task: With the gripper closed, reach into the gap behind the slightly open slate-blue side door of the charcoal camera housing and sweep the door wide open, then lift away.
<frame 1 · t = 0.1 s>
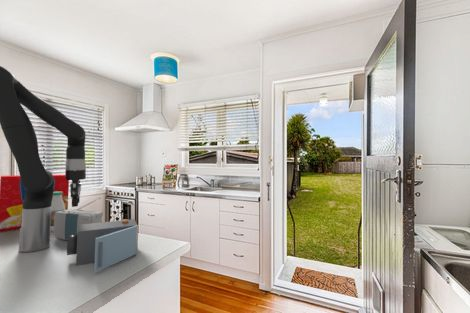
hand: (75, 204, 102), 17 cm above the worktop, tool pointing down, fingers open, 8 cm apart
red cardboard box: (34, 226, 125), on the worktop
stereo radio cassette player: (78, 240, 106), on the worktop
milk bottle: (55, 229, 119), on the worktop
side door: (119, 246, 82), point 7 cm above the worktop, hinge at 35.0°
camera housing: (107, 254, 90), on the worktop
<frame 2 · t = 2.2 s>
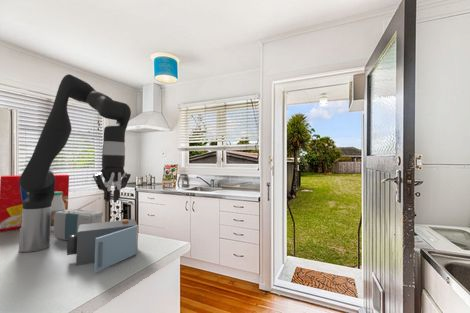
hand: (111, 200, 83), 23 cm above the worktop, tool pointing down, fingers closed
nothing on the worktop moved.
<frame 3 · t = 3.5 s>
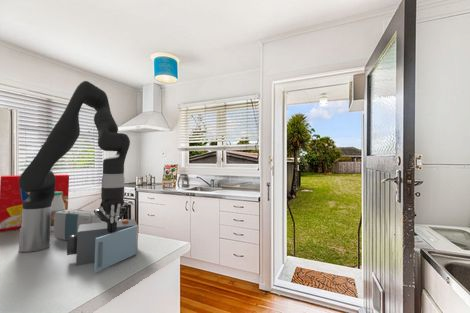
hand: (111, 232, 83), 11 cm above the worktop, tool pointing down, fingers closed
nothing on the worktop moved.
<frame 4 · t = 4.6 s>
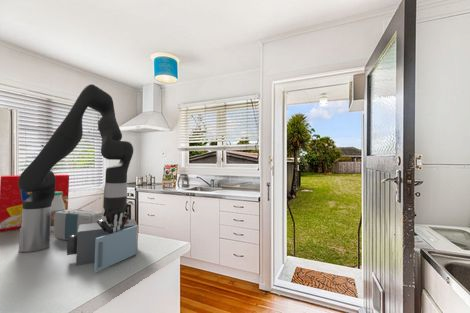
hand: (113, 241, 82), 8 cm above the worktop, tool pointing down, fingers closed
side door: (119, 246, 82), point 7 cm above the worktop, hinge at 35.1°, touching gripper
everything else where it was.
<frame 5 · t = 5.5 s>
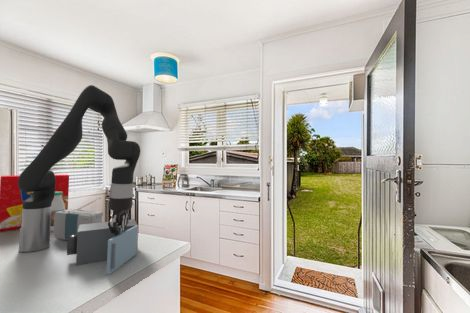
hand: (118, 243, 81), 8 cm above the worktop, tool pointing down, fingers closed
side door: (125, 247, 82), point 7 cm above the worktop, hinge at 53.3°, touching gripper
everything else where it was.
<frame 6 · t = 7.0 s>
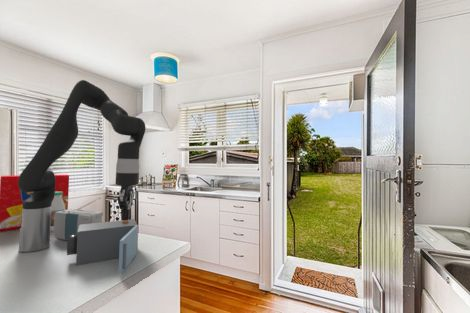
hand: (125, 219, 80), 17 cm above the worktop, tool pointing down, fingers closed
side door: (130, 247, 82), point 7 cm above the worktop, hinge at 66.8°
everything else where it was.
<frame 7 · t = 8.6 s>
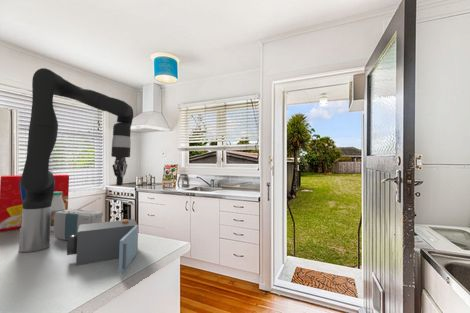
hand: (119, 185, 100), 27 cm above the worktop, tool pointing down, fingers closed
nothing on the worktop moved.
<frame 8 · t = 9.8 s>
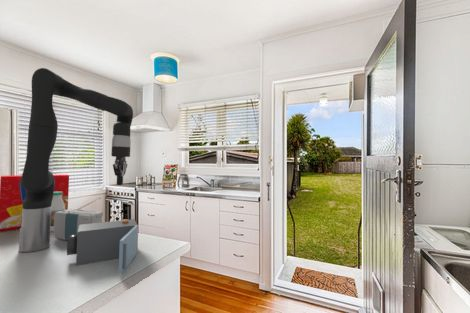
hand: (119, 184, 100), 27 cm above the worktop, tool pointing down, fingers closed
nothing on the worktop moved.
at the end: side door at +67° (first picture: +35°) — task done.
